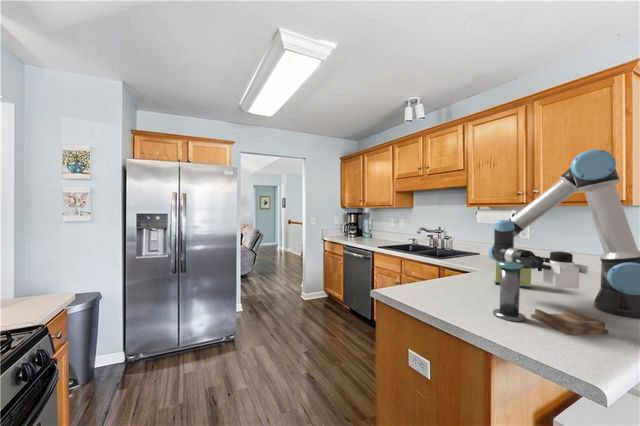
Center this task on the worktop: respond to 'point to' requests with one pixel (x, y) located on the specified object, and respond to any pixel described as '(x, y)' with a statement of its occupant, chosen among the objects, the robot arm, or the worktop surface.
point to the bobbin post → (509, 292)
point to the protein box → (524, 277)
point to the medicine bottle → (569, 272)
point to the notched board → (571, 322)
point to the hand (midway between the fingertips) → (573, 270)
